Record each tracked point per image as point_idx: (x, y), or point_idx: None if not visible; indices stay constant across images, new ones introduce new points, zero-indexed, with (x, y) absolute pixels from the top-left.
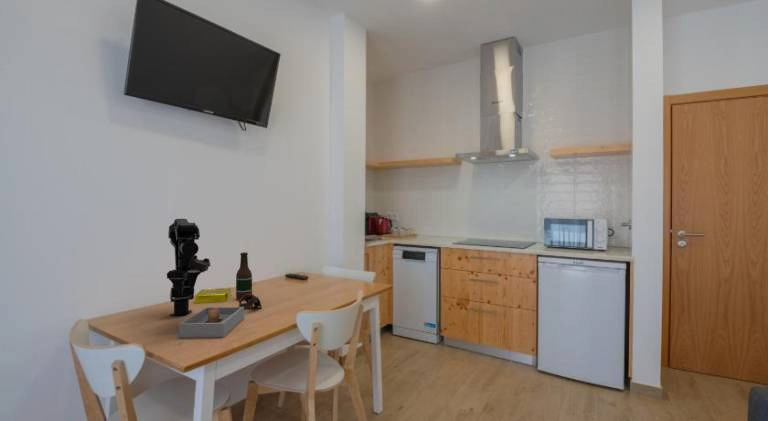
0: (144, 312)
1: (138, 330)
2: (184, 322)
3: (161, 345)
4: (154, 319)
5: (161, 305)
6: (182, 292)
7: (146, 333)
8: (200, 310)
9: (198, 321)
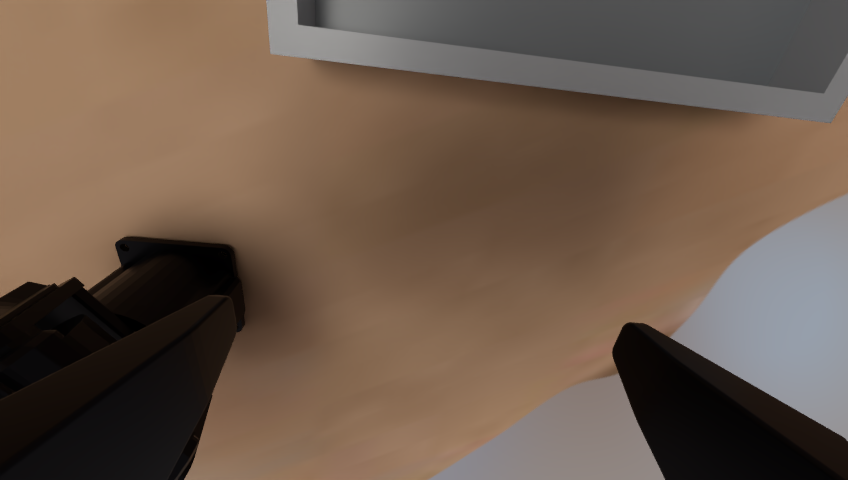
0: None
1: (494, 363)
2: (791, 89)
3: (821, 160)
4: (313, 370)
5: None
6: (665, 341)
7: (556, 314)
8: (408, 69)
9: (565, 30)
